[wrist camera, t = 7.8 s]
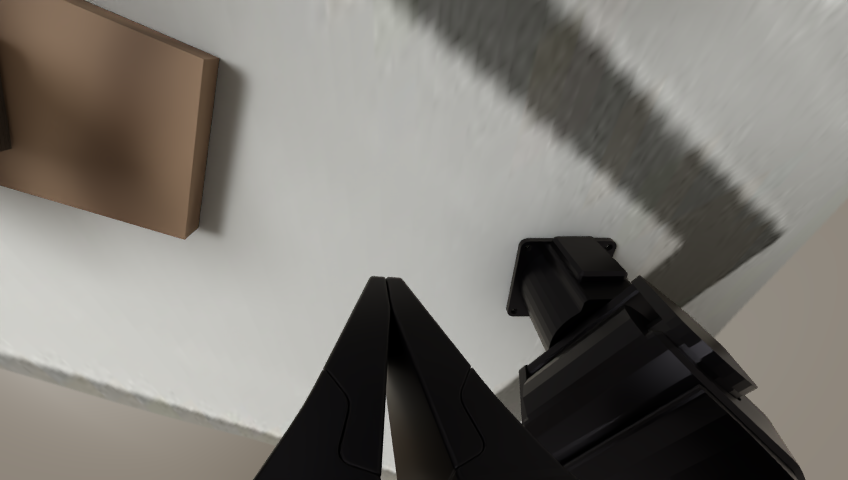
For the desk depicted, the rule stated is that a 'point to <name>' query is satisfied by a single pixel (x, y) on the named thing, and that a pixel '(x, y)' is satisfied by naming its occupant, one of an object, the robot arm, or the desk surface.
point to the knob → (4, 124)
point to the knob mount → (105, 113)
